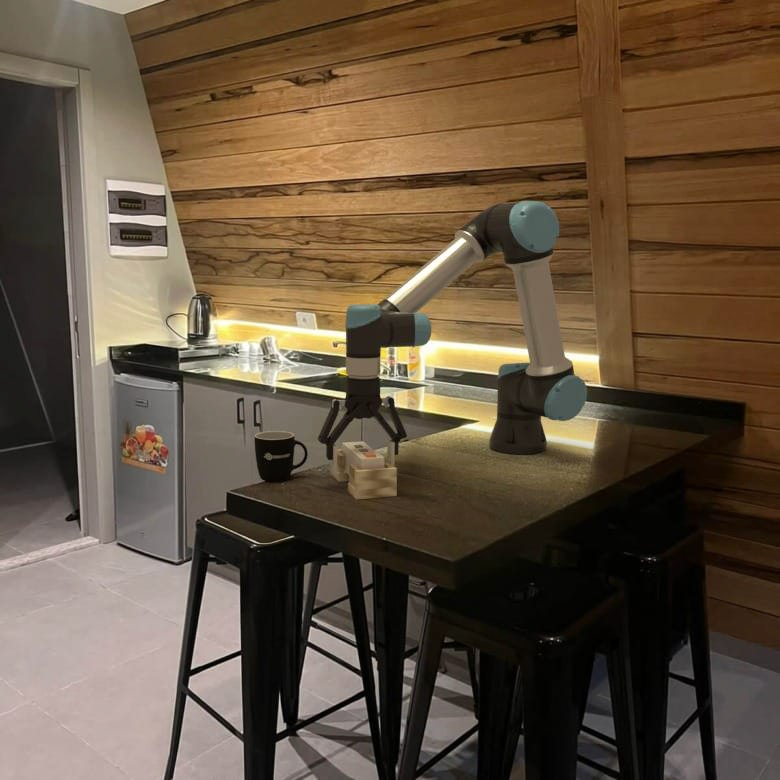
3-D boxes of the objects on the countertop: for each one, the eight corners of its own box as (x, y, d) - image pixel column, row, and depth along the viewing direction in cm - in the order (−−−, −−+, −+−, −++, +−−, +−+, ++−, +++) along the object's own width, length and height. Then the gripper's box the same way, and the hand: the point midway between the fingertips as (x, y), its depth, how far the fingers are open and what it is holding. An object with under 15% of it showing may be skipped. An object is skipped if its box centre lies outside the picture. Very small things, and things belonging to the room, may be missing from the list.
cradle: (368, 472, 188) (368, 447, 187) (396, 495, 169) (396, 468, 168) (331, 475, 185) (331, 449, 184) (355, 499, 166) (355, 471, 165)
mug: (257, 485, 176) (257, 440, 175) (253, 474, 185) (252, 431, 183) (311, 481, 180) (311, 437, 178) (304, 471, 188) (303, 429, 186)
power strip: (362, 466, 185) (362, 439, 184) (384, 485, 170) (384, 455, 169) (341, 468, 183) (341, 440, 182) (361, 486, 168) (361, 457, 167)
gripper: (410, 371, 180) (409, 463, 184) (303, 375, 173) (304, 471, 176) (422, 376, 173) (420, 471, 177) (311, 380, 166) (312, 480, 169)
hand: (362, 471), depth 176 cm, fingers open, 12 cm apart
